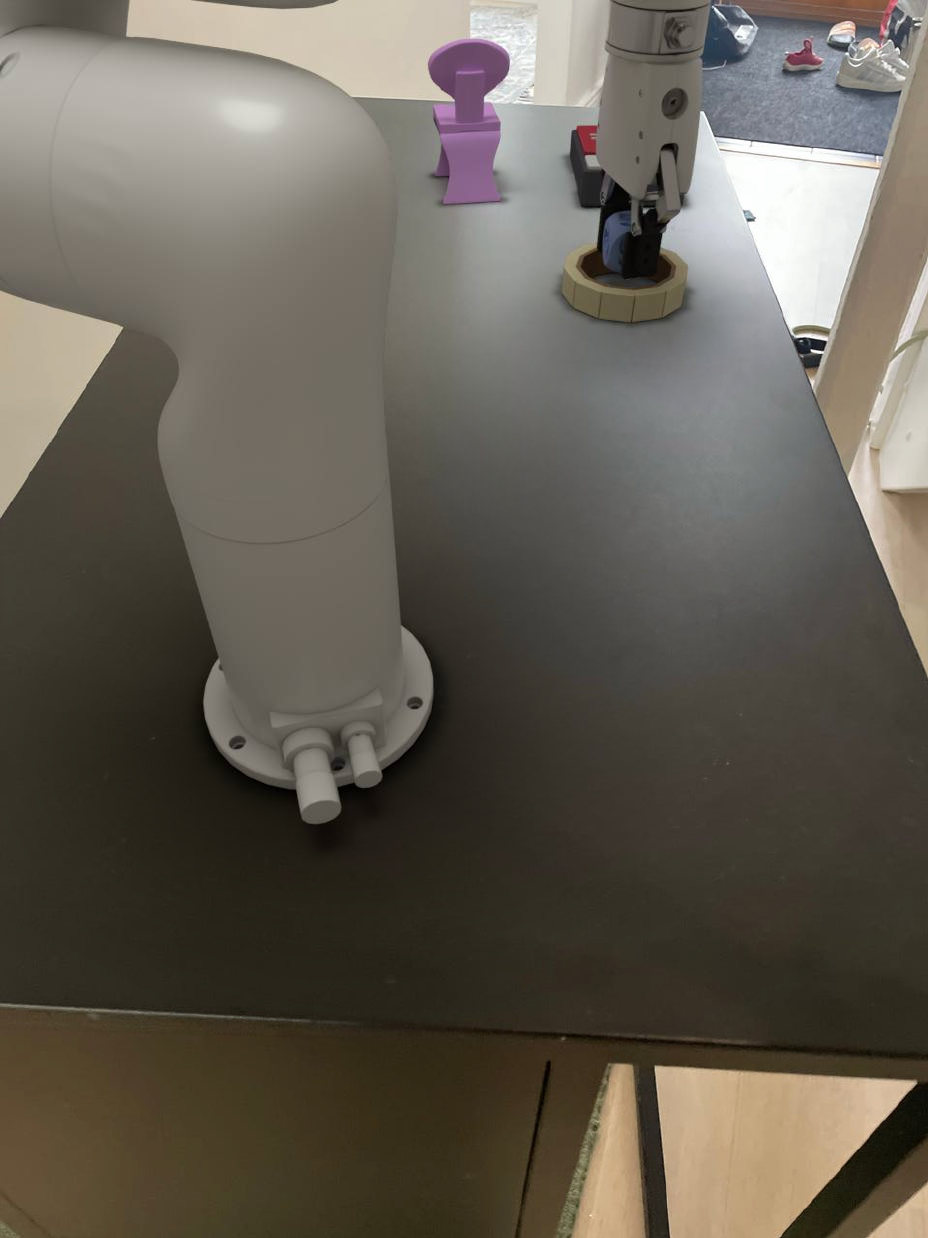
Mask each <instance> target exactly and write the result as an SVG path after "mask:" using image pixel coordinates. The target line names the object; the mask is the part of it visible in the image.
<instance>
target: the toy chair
mask: <svg viewBox="0 0 928 1238" xmlns="http://www.w3.org/2000/svg"><path fill="white" fill-rule="evenodd" d="M510 58H511V57H510V55H509V53H508V51H507V50H506V49H505V48H504V47H503V46H501V45H500V44H499V43H496V42H494V41H491V40H488V39H484V38H462V39H457V40H454V41H453V40H452V41H450V42H448V43H445V44H444V45H442V46H440V47H439V48H436V50H435V51H433V52H432V53H431V55H430V56H429V58H428V62H427V70H428V73H429V77H430V79H431V81H432V82H433V83H434V84H435V85H436V87H438V88H439V89H440V91H442V92H444V93H445V94H447V95H448V96H449V97H450V98H452V99H453V100H454V104H447V103H446V104H444V103H443V104H432V110H433V111H432V112H433V113H432V116H433V117H432V118H433V123H434V126H435V127H436V130H437V132H438V135H439V139H440V145H441V146H440V153H439V159H438V164H437V166H436V169H435V173H434V175H435V177H448V178H449V179H448V183H447V184H448V185H447V188H446V191H445V194H444V198H443V200H442V203H443V205H454V204H455V205H457V204H458V205H459V204H475V203H492V202H500V201H502V199H501V196H500V193H499V190H498V188H497V184H496V181H495V176H494V162H495V156H496V154H497V150H498V148H499V144H500V141H501V137H502V135H501V120H500V118H499V116H498V115H497V111H496V110H495V108H494V105H493V103H492V102H491V101H488V102H487V101H486V102H485V97H486V96H487V95H488V94H489V93H490V92H491V91H493V90H495V89H496V88H497V86H498V85H500V84H501V83H502V82H503V81H504V80H505V79H506V77H507V76H508V74H509V71H510V68H511V67H510V66H511V59H510Z"/></svg>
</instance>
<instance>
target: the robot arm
mask: <svg viewBox="0 0 928 1238" xmlns="http://www.w3.org/2000/svg"><path fill="white" fill-rule="evenodd" d="M130 1H131V0H0V292H3V293H6V294H7V295H10V296H14V297H17V298H20V299H22V300H26V301H30V302H31V303H36V304H40V305H44V306H46V307H50V308H52V309H58V310H61V311H64V312H65V311H66V312H69V313H72V314H75V315H80V316H84V317H87V318H92V319H95V320H99V321H101V322H107V323H110V324H114V325H117V326H119V327H121V328H124V329H127V330H130V331H133V332H137V333H140V334H144V335H147V336H150V337H153V338H155V339H157V340H159V341H161V342H163V343H164V344H165V345H166V346H168V347H169V348H170V350H171V351H172V352H173V353H174V356H175V358H176V360H177V363H178V365H177V366H178V376H177V380H176V383H175V385H174V386H173V389H172V391H171V393H170V395H169V396H168V398H167V400H166V402H165V404H164V406H163V408H162V411H161V414H160V416H159V421H158V426H157V453H158V459H159V464H160V468H161V472H162V477H163V479H164V483H165V487H166V490H167V494H168V497H169V500H170V503H171V504H172V507H173V509H174V512H175V515H176V519H177V523H178V525H179V530H180V532H181V536H182V540H183V543H184V546H185V549H186V553H187V556H188V559H189V563H190V567H191V570H192V574H193V576H194V580H195V583H196V586H197V590H198V593H199V596H200V600H201V604H202V607H203V609H204V613H205V616H206V620H207V623H208V626H209V630H210V633H211V636H212V640H213V643H214V646H215V651H216V653H217V656H218V657H217V659H216V661H215V662H214V664H213V666H212V667H211V669H210V673H209V674H208V677H207V680H206V683H205V685H204V692H203V693H204V694H203V699H202V704H203V712H204V720H205V722H206V726H207V728H208V732H209V735H210V737H211V740H212V741H213V743H214V745H215V747H216V748H217V751H218V752H219V753H220V754H221V755H222V756H223V758H225V759H226V760H227V762H228V763H229V764H230V765H231V766H232V767H233V768H235V769H237V770H238V771H239V772H241V773H242V774H243V775H245V776H247V777H249V778H251V779H254V780H256V781H258V782H261V783H263V784H266V785H268V786H273V787H277V788H282V789H287V790H296V795H297V801H298V806H299V807H298V808H299V812H300V816H301V817H300V818H301V820H302V821H303V822H305V823H306V824H310V825H320V824H321V825H322V824H325V823H329V822H330V821H333V820H335V819H336V818H337V817H338V816H339V815H340V814H341V812H342V804H341V800H340V795H339V790H338V788H339V787H343V786H346V785H350V784H354V785H355V786H356V787H358V788H361V789H367V788H372V787H375V786H377V785H378V784H379V783H380V782H381V781H382V780H383V773H382V771H383V770H384V769H386V768H387V767H389V766H390V765H392V764H393V763H395V762H396V761H398V760H399V759H400V758H401V757H402V756H403V755H404V754H405V753H406V752H407V751H408V750H409V749H410V748H411V747H412V746H413V745H414V744H415V742H416V741H417V739H418V738H419V737H420V735H421V733H422V732H423V731H424V729H425V727H426V724H427V722H428V720H429V717H430V715H431V713H432V706H433V701H434V695H435V694H434V693H435V692H434V676H433V670H432V666H431V661H430V659H429V658H428V657H429V656H428V655H427V653H426V651H425V649H424V647H423V645H422V644H421V643H420V642H419V640H418V639H417V638H416V636H415V635H414V634H413V633H412V632H410V631H409V630H408V629H407V628H406V627H404V626H403V625H402V620H401V619H402V618H401V608H400V594H399V583H398V581H399V580H398V570H397V557H396V544H395V542H396V541H395V532H394V531H395V529H394V518H393V517H394V515H393V504H392V491H391V478H390V467H389V457H388V444H387V443H388V442H387V429H386V428H387V426H386V409H385V366H384V365H385V342H386V326H387V318H388V317H387V315H388V307H389V298H390V297H389V296H390V289H391V280H392V273H393V264H394V257H395V248H396V240H397V230H398V229H397V227H398V217H399V216H398V214H399V213H398V210H399V209H398V185H397V178H396V174H395V173H396V172H395V167H394V163H393V158H392V155H391V152H390V150H389V147H388V145H387V142H386V140H385V138H384V136H383V134H382V131H380V129H379V127H378V126H377V124H376V122H375V120H373V119H372V118H371V116H370V115H369V114H368V112H367V111H366V109H364V107H363V106H361V104H359V102H358V101H357V100H355V98H354V97H353V96H352V95H350V94H348V93H347V92H346V91H345V90H344V89H343V88H342V87H340V86H338V85H336V84H335V83H334V82H332V81H331V80H329V79H327V78H325V77H324V76H321V75H319V74H317V73H315V72H314V71H311V70H309V69H306V68H304V67H301V66H299V65H296V64H293V63H291V62H287V61H285V60H282V59H279V58H275V57H271V56H267V55H262V54H258V53H254V52H249V51H243V50H237V49H232V48H225V47H220V46H211V45H204V44H198V43H197V44H196V43H192V42H183V41H177V40H169V39H162V38H156V37H143V36H127V31H128V21H129V12H130V11H129V10H130V3H131V2H130ZM192 1H194V2H202V3H209V4H217V5H218V4H219V5H228V6H237V7H245V8H255V9H256V8H259V9H274V10H293V9H295V10H296V9H312V8H313V9H314V8H318V7H322V6H326V5H330V4H331V5H332V4H335V3H336V2H339V0H192ZM711 7H712V0H608V7H607V8H608V9H607V19H606V20H607V21H606V30H605V40H604V50H605V52H606V53H608V55H607V59H606V64H605V70H604V74H603V75H604V76H603V82H602V88H601V95H600V102H599V110H598V117H597V125H598V126H597V138H596V158H597V161H598V163H599V165H600V166H601V167H602V170H601V172H600V174H601V177H602V181H603V184H602V189H601V193H600V201H601V204H602V205H606V206H600V212H599V221H598V230H597V231H598V232H597V239H596V242H597V249H598V251H599V252H601V253H603V234H604V227H605V223H606V220H607V219H608V218H609V217H610V216H611V215H613V214H614V213H617V212H621V211H631V232H626V237H625V244H624V252H623V260H622V268H621V273H620V276H621V277H622V279H624V280H627V281H628V280H634V279H642V278H647V277H651V276H654V275H655V274H656V272H657V267H658V261H659V254H660V248H661V247H662V241H663V234H665V233H666V231H667V228H668V224H669V223H670V222H671V220H672V219H674V218H676V217H677V216H678V215H679V214H680V213H681V210H682V205H681V204H680V196H679V195H684V196H685V195H687V194H688V193H689V191H690V189H691V186H692V181H693V175H694V169H695V161H696V154H697V146H698V139H699V130H700V122H701V121H700V120H701V110H702V98H703V97H702V96H703V59H702V58H701V56H702V55H703V54H704V50H705V42H706V36H707V30H708V25H709V18H710V13H711ZM651 185H657V189H658V191H656V192H648V193H647V192H646V190H647V186H651ZM652 201H656V205H654V207H653V208H649V209H648V210H647V211H646V212H644V205H643V203H644V202H652ZM629 202H631V203H629ZM643 213H645V214H644V216H643Z"/></svg>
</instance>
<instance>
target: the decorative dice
mask: <svg viewBox="0 0 928 1238" xmlns="http://www.w3.org/2000/svg"><path fill="white" fill-rule="evenodd" d="M645 213H646V212H643V216H644V214H645ZM626 232H631V211H621V212H617V213H614V214H613V215H611V216H610V217H609V218H608V219H607V220H606V223H605V227H604V234H603V262H604V265H605V266H606V267H607V268H608V269H610V270H611V271H614V272H613V273H617V274H621V268H622V260H623V252H624V244H625V237H626Z"/></svg>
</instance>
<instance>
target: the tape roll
mask: <svg viewBox="0 0 928 1238" xmlns="http://www.w3.org/2000/svg"><path fill="white" fill-rule="evenodd" d="M688 271H689V265H688V263H686V261H684V260H683V258H681V257H680V256H679V254H678V253H676V252H674V251H672V250H669V249H667V248H665V247H662V246H661V248H660V254H659V261H658V267H657V272H656V274H655V275H654V276H651V277H646V278H647V279H649V280H652V281H655V282H657V283H656V284H651V285H643V286H636V287H630V286H629V287H628V286H619V285H611V284H607V283H604V282H602V281H599V280H597V279H594V278H593V277H594V276H596V275H605V274H611V273H615V272H614V271H611V270H610V269H608V268H607V267H606V266H605V265H604V262H603V253H601V252H599V251H598V249H597V241H595V242H590V243H586V244H584V245H583V246H580V247H579V248H577V249H575V250H573V251H571V252H569V253H568V255H567V257H566V260H565V263H564V265H563V269H562V281H561V282H562V283H561V295H563V297H564V298H565V299H566V301H567V302H568V303H569V305H570V306H571V307H572V308H573V309H575V310H578V311H580V312H582V313H584V314H587V315H589V316H591V317H593V318H595V319H599V320H605V321H614V322H623V323H638V322H643V321H651V320H658V319H662V318H665V317H666V316H668V315H670V314H671V313H673V312H675V311H676V310H678V309H679V308H681V307H682V305H683V299H684V295H685V290H686V289H685V288H686V283H687V278H688Z"/></svg>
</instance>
